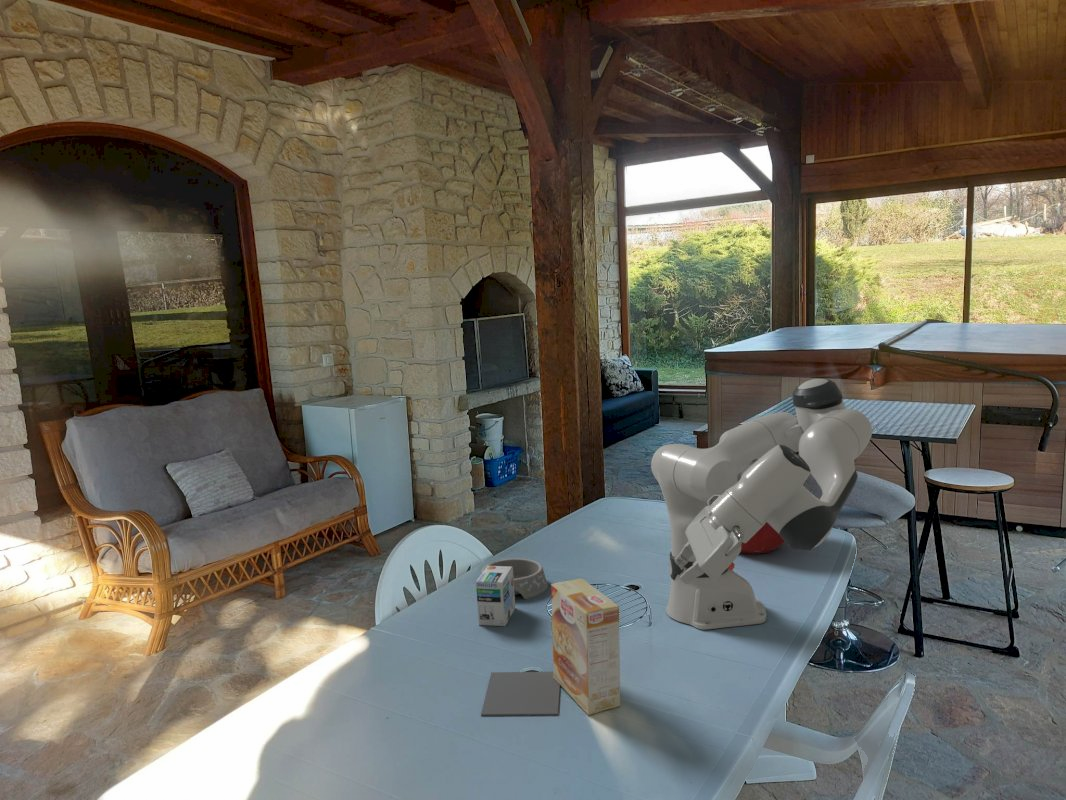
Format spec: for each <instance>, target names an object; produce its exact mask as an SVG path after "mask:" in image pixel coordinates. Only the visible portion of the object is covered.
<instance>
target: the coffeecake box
mask: <svg viewBox="0 0 1066 800" xmlns="http://www.w3.org/2000/svg"><path fill="white" fill-rule="evenodd" d="M550 587H551V620H552V621H551V625H552V627H551V628H552V656H553V657H552V658H553V659H552V661H553V664H552V665H553V672H554V676H553V678H554V679H555V680H556V681H557V682H558V683H559V684H560V687H562V689H564V691H565V692H566V693H567V694H568V695H569V696H570V697H571V698H572V699H573V700H574V701H575V702H576V704H577V705H578V706H579V707H580V708H581V709H582V710H583V711H584V713H586V714H587V716H590V715H594V714H597V713H600V712H604V711H606V710H607V711H608V710H612V709H615V708H618V707H621V663H620V661H621V659H620V658H621V657H620V656H621V655H620V653H621V652H620V651H621V650H620V648H621V647H620V606H619V605H618V604H617V603H615V602H614V601H613V600H611V599H610V598H609V597H608V596H606V595H605V594H603V592H601V591H599V590H598V589H597V588H595V587H594V586H593V585H591V584H590V583H588V582H587V581H586V580H585V579H583V578H576V579H575V578H574V579H572V580H566V581H559V582H554V583H551V584H550Z"/></svg>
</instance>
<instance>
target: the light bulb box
mask: <svg viewBox="0 0 1066 800" xmlns="http://www.w3.org/2000/svg"><path fill="white" fill-rule="evenodd" d="M475 587H476V589H475V590H476V600H477V601H476V602H477V603H476V605H477V614H478V615H477V617H478V618H477V619H478V626H494V627H495V626H496V627H497V626H498V627H506V626H507V624H508V622H509V620H510V619H511V617H512V615H513V613H514V612H515V609H516V600H515V599H516V596H515V595H514V578H513V567H509V566H487V567H486V568H485V570H484V571H483V572H482V574H481V573H480V575H479V576H478V578H477V579H476V581H475Z"/></svg>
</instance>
